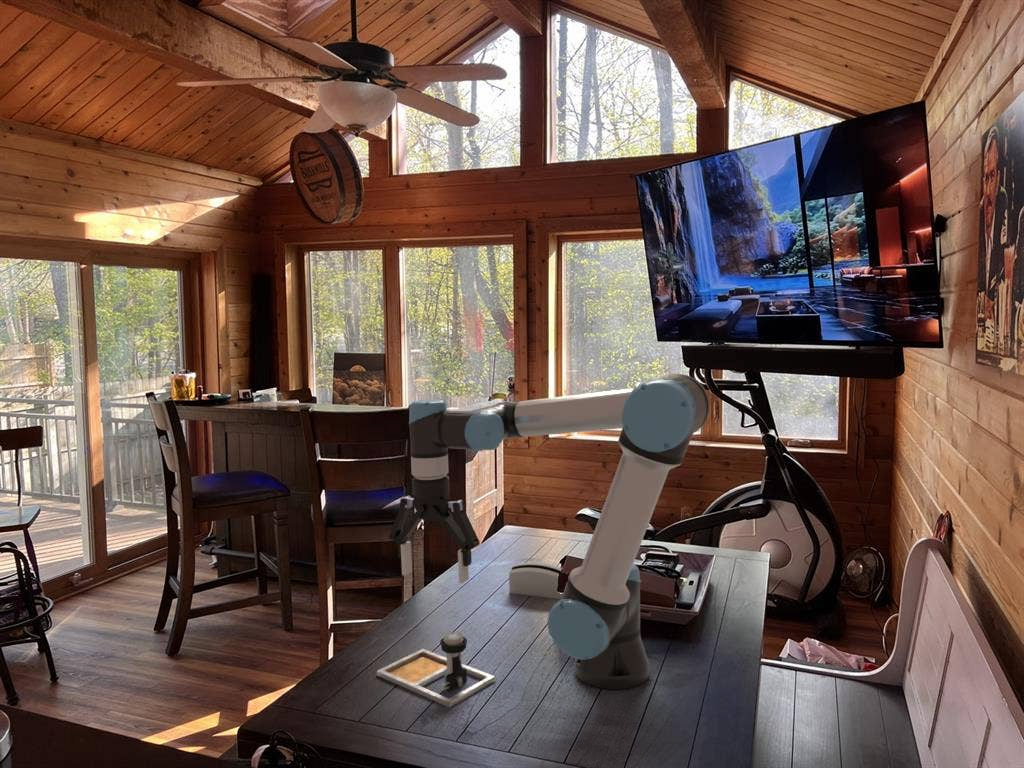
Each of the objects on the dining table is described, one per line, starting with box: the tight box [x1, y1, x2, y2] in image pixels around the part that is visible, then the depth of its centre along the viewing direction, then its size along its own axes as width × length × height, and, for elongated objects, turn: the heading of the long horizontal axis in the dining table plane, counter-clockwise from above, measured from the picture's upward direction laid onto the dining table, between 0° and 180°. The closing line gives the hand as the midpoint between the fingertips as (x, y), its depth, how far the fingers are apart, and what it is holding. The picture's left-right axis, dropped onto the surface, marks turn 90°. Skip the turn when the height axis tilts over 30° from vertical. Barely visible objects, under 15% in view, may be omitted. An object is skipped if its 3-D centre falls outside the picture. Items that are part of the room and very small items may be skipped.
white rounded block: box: [508, 561, 562, 600], centre depth 200 cm, size 17×5×10 cm, turn 70°
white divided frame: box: [376, 648, 496, 708], centre depth 156 cm, size 21×13×1 cm, turn 50°
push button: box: [439, 632, 468, 691], centre depth 152 cm, size 7×5×10 cm
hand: (435, 577), depth 158 cm, fingers open, 13 cm apart
